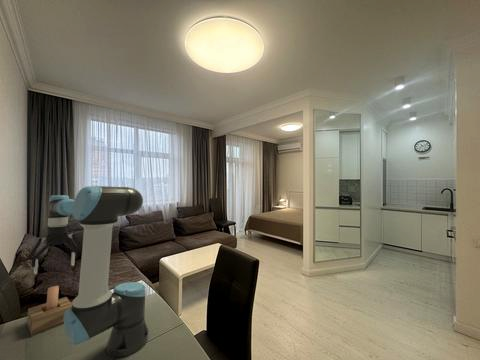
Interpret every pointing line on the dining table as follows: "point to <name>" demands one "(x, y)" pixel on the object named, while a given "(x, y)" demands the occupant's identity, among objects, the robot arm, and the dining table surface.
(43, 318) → the socket block
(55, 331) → the dining table surface
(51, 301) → the peg
